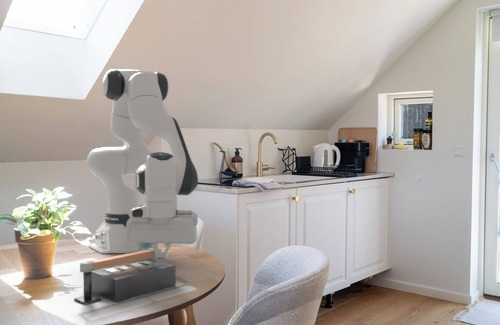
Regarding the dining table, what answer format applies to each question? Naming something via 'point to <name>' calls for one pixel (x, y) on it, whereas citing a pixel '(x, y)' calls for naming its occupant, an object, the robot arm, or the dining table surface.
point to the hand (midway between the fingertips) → (161, 258)
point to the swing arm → (117, 260)
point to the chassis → (133, 279)
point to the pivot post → (87, 291)
